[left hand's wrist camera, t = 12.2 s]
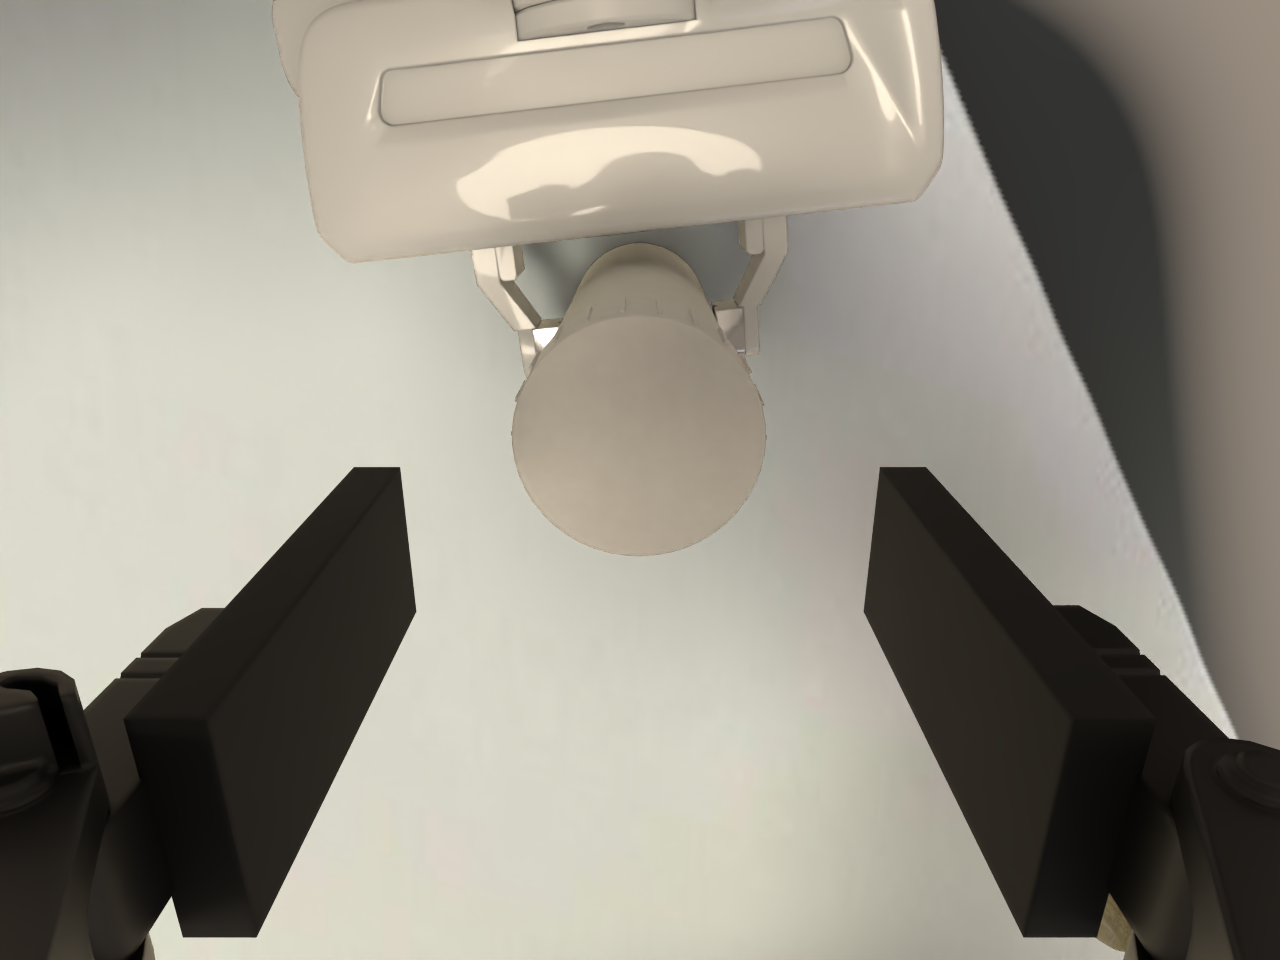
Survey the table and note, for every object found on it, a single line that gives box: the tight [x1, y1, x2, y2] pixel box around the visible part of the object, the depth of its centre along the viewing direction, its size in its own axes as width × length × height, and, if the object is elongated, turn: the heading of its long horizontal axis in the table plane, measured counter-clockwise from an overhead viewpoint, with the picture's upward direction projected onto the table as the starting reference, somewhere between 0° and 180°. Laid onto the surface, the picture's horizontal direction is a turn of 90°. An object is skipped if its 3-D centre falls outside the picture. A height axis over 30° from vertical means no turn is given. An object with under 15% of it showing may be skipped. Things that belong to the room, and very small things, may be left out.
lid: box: [511, 297, 767, 556], centre depth 20 cm, size 6×6×2 cm
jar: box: [561, 243, 719, 329], centre depth 27 cm, size 6×6×17 cm
